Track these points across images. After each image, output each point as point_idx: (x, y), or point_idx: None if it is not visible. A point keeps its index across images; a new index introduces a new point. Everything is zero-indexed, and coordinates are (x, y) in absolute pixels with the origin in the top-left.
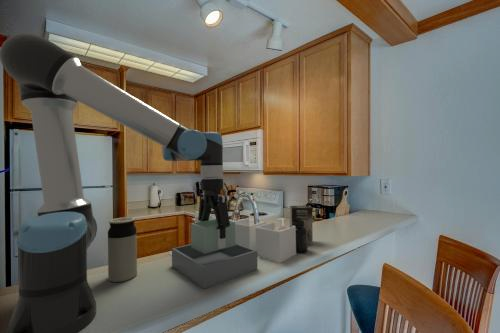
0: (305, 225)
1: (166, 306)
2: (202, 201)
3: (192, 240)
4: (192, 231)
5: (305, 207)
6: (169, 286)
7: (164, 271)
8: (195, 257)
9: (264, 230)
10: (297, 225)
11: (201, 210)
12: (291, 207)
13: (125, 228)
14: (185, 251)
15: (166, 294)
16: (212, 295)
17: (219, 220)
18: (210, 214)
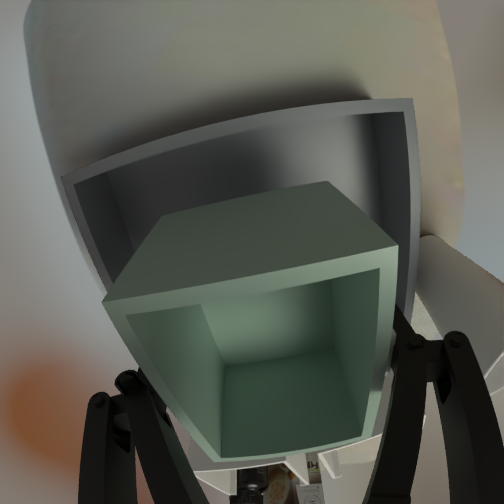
0: (271, 496)
1: (60, 52)
2: (474, 501)
3: (318, 196)
4: (333, 221)
5: None
6: (173, 51)
7: (331, 57)
8: (381, 206)
9: (243, 463)
10: (234, 497)
11: (460, 417)
12: None
13: None
14: (396, 167)
15: (121, 43)
16: (60, 177)
17: (133, 431)
18: (495, 390)
